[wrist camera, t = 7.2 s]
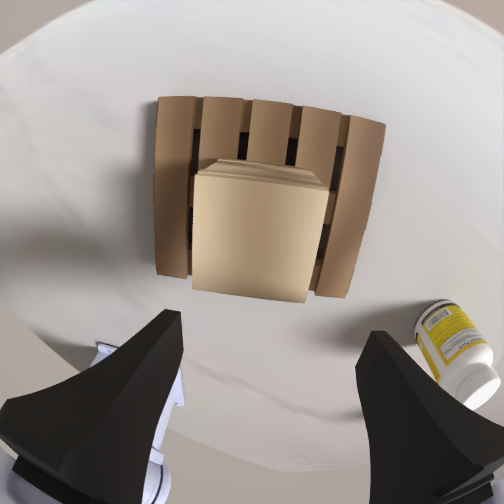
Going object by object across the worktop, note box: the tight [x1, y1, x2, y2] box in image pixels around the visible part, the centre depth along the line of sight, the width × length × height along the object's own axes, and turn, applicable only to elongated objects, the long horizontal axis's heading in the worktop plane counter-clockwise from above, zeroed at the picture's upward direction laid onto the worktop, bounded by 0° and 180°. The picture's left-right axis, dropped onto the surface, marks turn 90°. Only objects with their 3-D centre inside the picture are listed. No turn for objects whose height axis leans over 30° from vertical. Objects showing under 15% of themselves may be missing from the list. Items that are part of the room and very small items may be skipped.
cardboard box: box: [192, 158, 329, 304], centre depth 14 cm, size 5×5×6 cm
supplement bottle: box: [414, 300, 501, 410], centre depth 17 cm, size 5×5×10 cm
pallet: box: [154, 96, 386, 298], centre depth 17 cm, size 14×12×2 cm
